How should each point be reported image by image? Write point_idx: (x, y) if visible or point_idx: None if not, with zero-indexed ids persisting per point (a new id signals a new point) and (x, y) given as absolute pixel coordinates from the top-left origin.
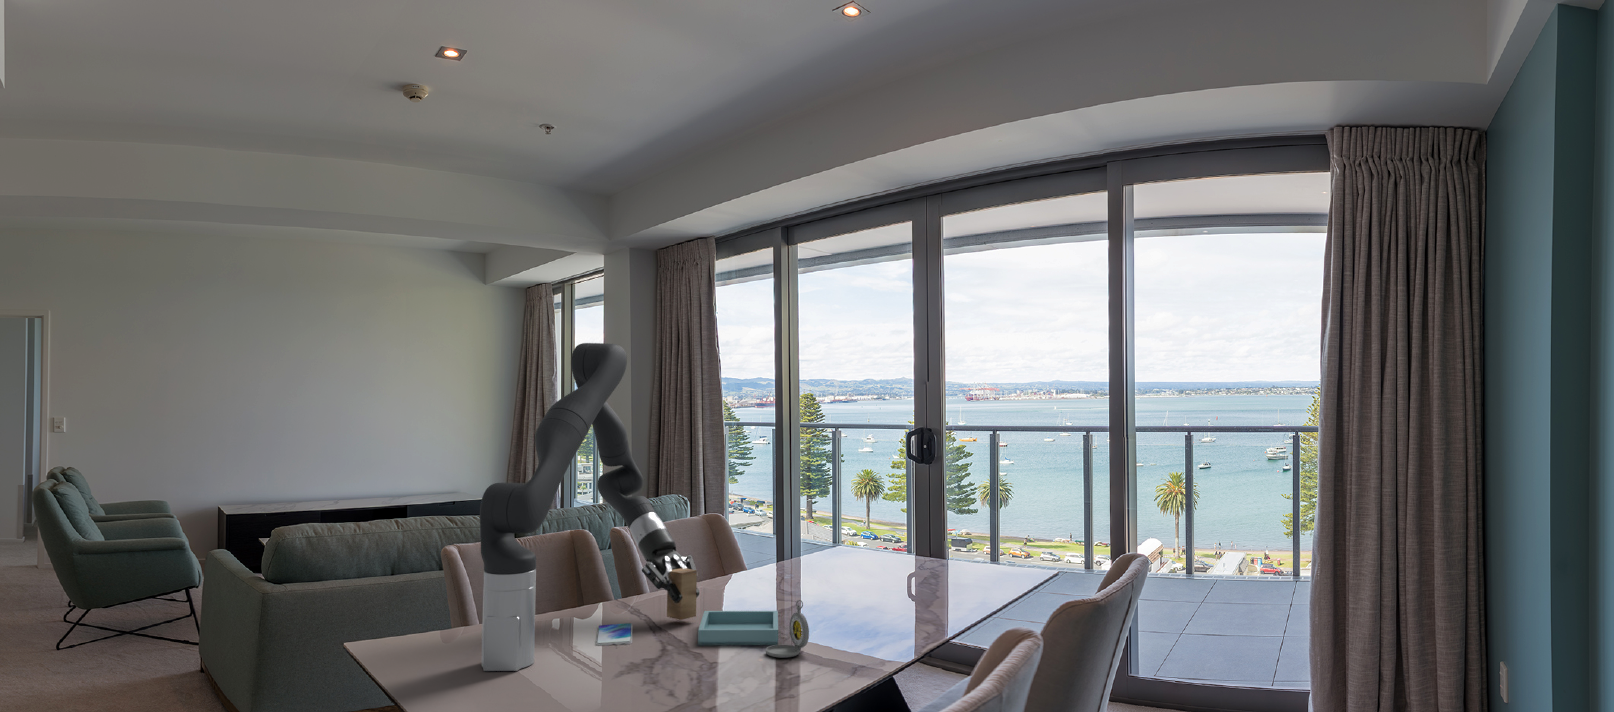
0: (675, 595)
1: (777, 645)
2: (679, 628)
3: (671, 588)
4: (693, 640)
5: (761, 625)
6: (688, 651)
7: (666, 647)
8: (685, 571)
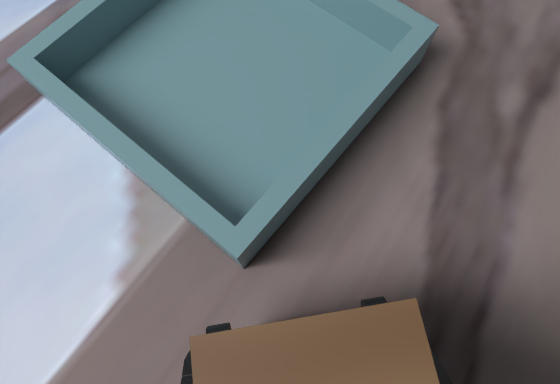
0: None
1: None
2: (361, 290)
3: (440, 369)
4: (403, 115)
5: (116, 85)
6: (477, 32)
7: (522, 103)
8: (331, 361)
